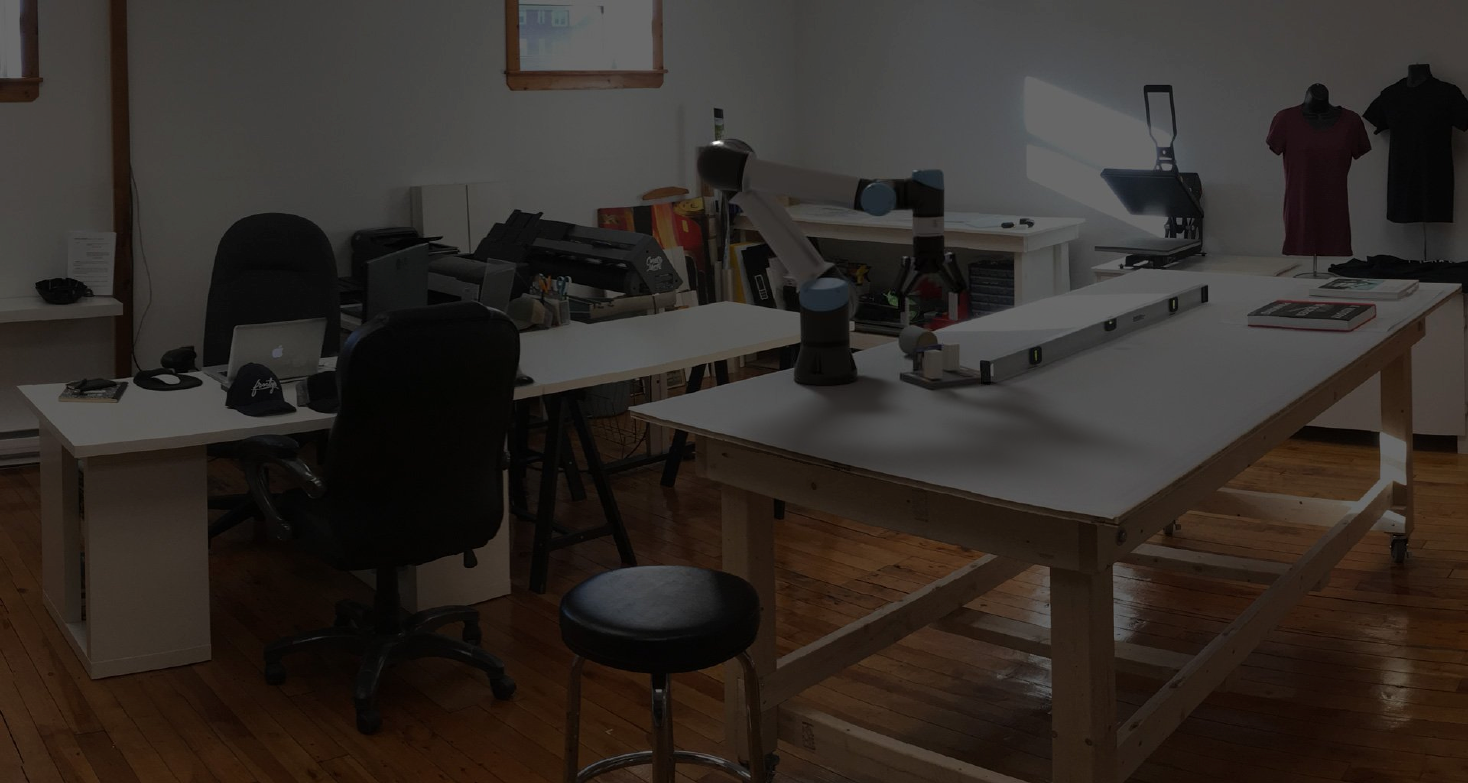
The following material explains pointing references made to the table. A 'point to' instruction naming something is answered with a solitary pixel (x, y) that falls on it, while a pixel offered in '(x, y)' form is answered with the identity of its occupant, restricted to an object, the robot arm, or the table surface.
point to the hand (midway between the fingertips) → (929, 322)
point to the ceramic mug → (915, 338)
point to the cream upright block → (933, 364)
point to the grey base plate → (944, 378)
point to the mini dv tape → (922, 355)
